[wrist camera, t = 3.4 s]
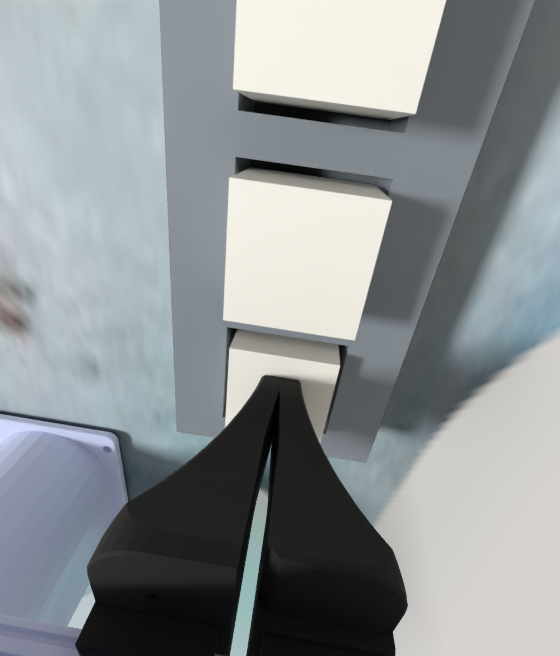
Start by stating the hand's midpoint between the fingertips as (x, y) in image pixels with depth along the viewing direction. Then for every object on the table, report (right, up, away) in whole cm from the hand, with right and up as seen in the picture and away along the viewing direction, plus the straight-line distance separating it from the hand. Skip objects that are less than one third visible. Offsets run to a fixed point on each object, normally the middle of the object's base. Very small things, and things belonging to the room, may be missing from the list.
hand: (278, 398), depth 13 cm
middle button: (+1, +6, -1) cm, 6 cm away
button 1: (0, +1, +3) cm, 3 cm away
